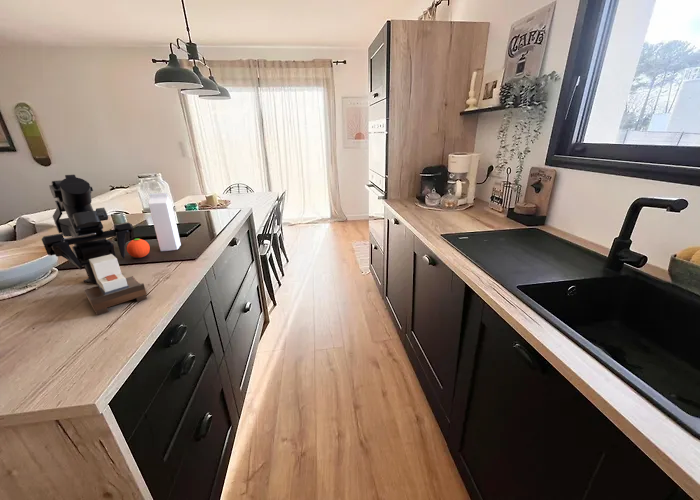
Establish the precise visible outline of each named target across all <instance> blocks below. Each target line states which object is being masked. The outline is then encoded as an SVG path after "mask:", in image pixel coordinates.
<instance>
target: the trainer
mask: <svg viewBox="0 0 700 500" xmlns="http://www.w3.org/2000/svg"><path fill="white" fill-rule="evenodd" d="M89 262H90V264H91V267H92V270H93V273H94V276H95V279H96V281H97V283H96V286H98V287H99V289H100V290H101V291H102V293H103V294H104V295H106V294H109V293H112V292H116V291H119V290H122V289H126V288H129V285H128V284H127V282H126V278H127V277H125V276H124V274H122V270H121V268H120V264H119V261H118V258H117V257H116V256H113V255H112V254H110V255H106V256H101V257H97V258H93V259H89Z"/></svg>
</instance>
